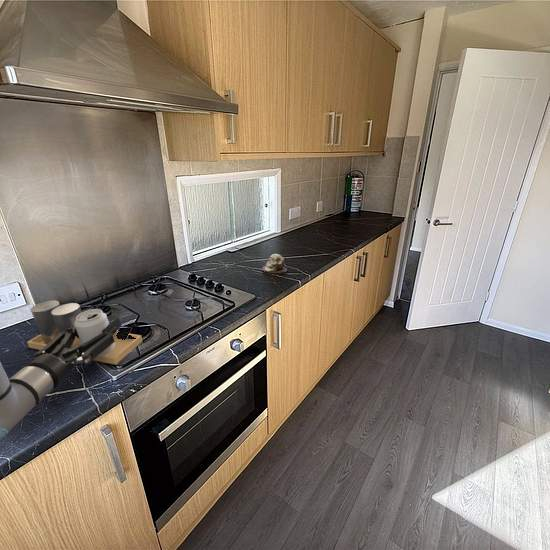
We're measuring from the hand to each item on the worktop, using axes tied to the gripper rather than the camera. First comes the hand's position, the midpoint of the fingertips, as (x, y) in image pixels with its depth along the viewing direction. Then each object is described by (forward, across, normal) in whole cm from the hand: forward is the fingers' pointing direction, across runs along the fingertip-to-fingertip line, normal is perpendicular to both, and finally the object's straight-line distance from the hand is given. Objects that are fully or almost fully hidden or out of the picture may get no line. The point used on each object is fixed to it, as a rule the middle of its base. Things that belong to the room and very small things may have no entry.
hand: (105, 321), depth 85 cm
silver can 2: (+1, -13, -9) cm, 16 cm away
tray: (+1, -10, -10) cm, 13 cm away
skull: (+64, +42, -10) cm, 77 cm away
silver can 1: (+3, -21, -9) cm, 23 cm away
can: (-5, 0, -7) cm, 8 cm away
